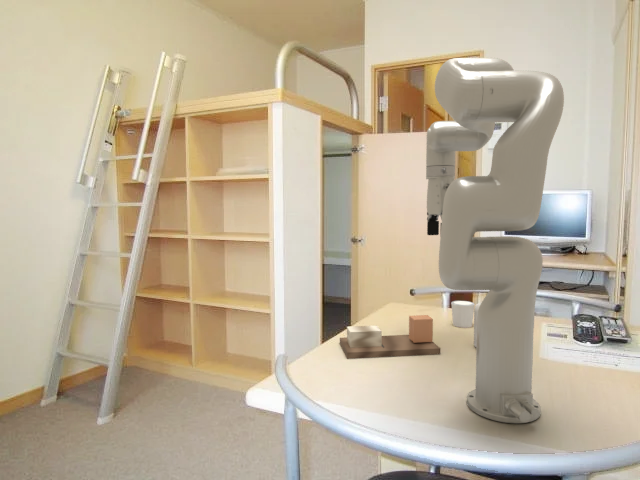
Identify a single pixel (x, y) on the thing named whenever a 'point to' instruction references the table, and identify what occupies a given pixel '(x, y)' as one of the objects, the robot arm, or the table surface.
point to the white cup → (462, 313)
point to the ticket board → (382, 344)
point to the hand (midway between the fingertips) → (439, 236)
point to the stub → (421, 328)
